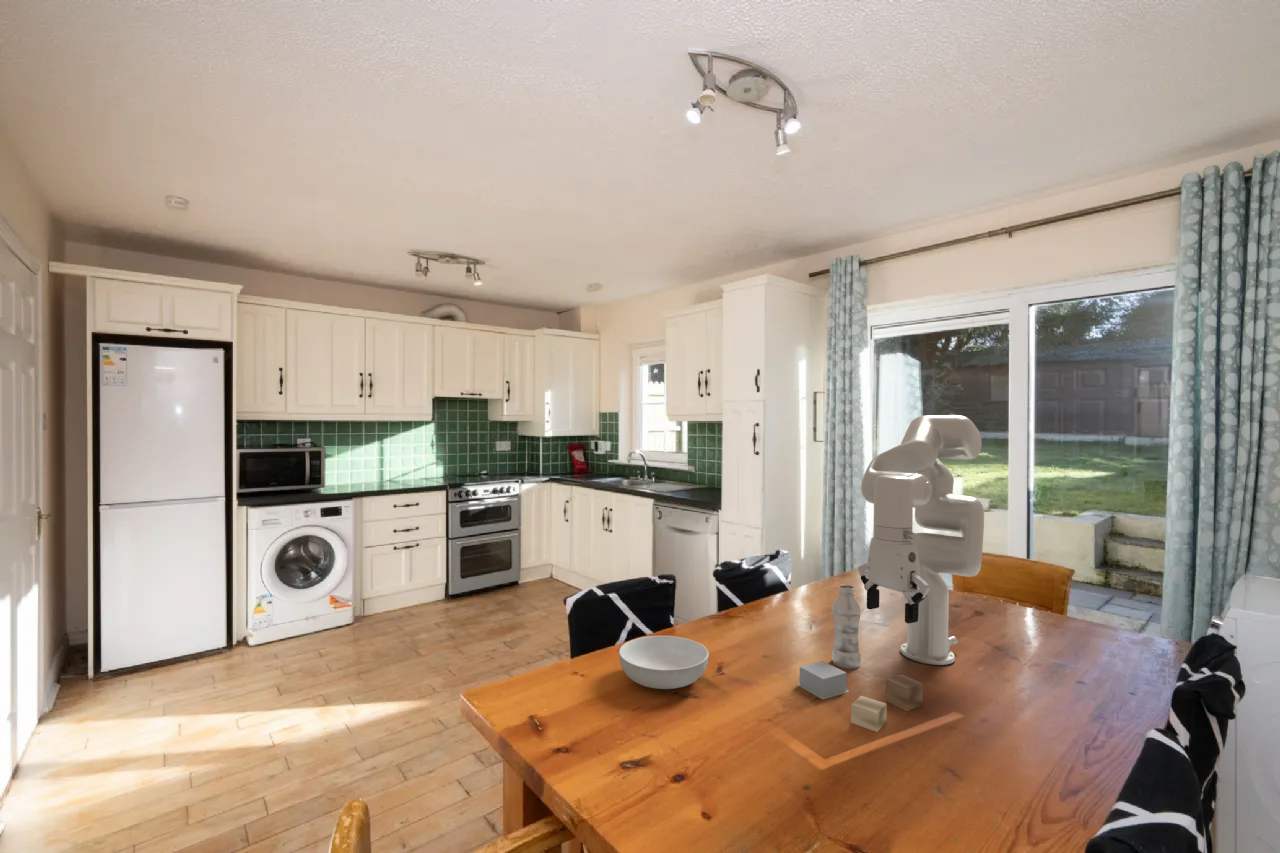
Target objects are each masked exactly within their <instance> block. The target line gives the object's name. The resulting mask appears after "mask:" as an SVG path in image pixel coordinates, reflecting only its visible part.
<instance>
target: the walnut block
mask: <svg viewBox="0 0 1280 853" xmlns="http://www.w3.org/2000/svg"><path fill="white" fill-rule="evenodd" d="M923 684H924V683H922V682H920V681H918V680H916V679H914V678H911V677H909V676H906V675H904V674H903V673H901V674H898V675H895V676H891V677H888V678H886V679H885V701H886V702H887V703H889V704H891V705H894V706H895V707H897V708H899V709H901V710H903V711H905V712H908V711H911V710H914V709H917V708H920V707H923V706H924V704H923V703H924V701H923V700H924V698H923V693H924V690H923V688H924V687H923V686H924V685H923Z"/></svg>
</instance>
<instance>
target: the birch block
mask: <svg viewBox="0 0 1280 853" xmlns="http://www.w3.org/2000/svg"><path fill="white" fill-rule="evenodd" d="M850 709H851V710H850V717H851V718H850V720H851V721H850V723H852V724H854V725H856V726H860V727H862V728H865V729H867V730H870V731H873V732H876V733H878V732H879V731H880V730H881V729H882V728H883V726H885V725H886V723H887V713H888V712H887V703H886V702H883V701H878V700H876V699H874V698H870V697H867V696H863V695H860V696H859V697H858V698H856V699H855V701H854V702H852V703H851V708H850Z"/></svg>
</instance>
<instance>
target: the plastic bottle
mask: <svg viewBox="0 0 1280 853" xmlns="http://www.w3.org/2000/svg"><path fill="white" fill-rule="evenodd" d="M837 592H838V597H837V598H836V599H835V600H834V602H833V603H832V615H833V622H834V623H833V624H834V626H833V627H834V640H833V647H832V650H831V651H832V652H831V658H832V663H833V664H834V666H837V667H839V668H842V669H843V668H844V669H848V670H849V669H858V668H860V666H861V661H862V657H861V651H860V644H859V629H860V628H859V627H860V626H859V625H860V618H861V613H862V611H861V610H862V609H861V606H860V604H859V602H858V600H856V598H855V596H856V588H855V586H853V585H850V584H849V585H848V584H840V585H838V591H837Z"/></svg>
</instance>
